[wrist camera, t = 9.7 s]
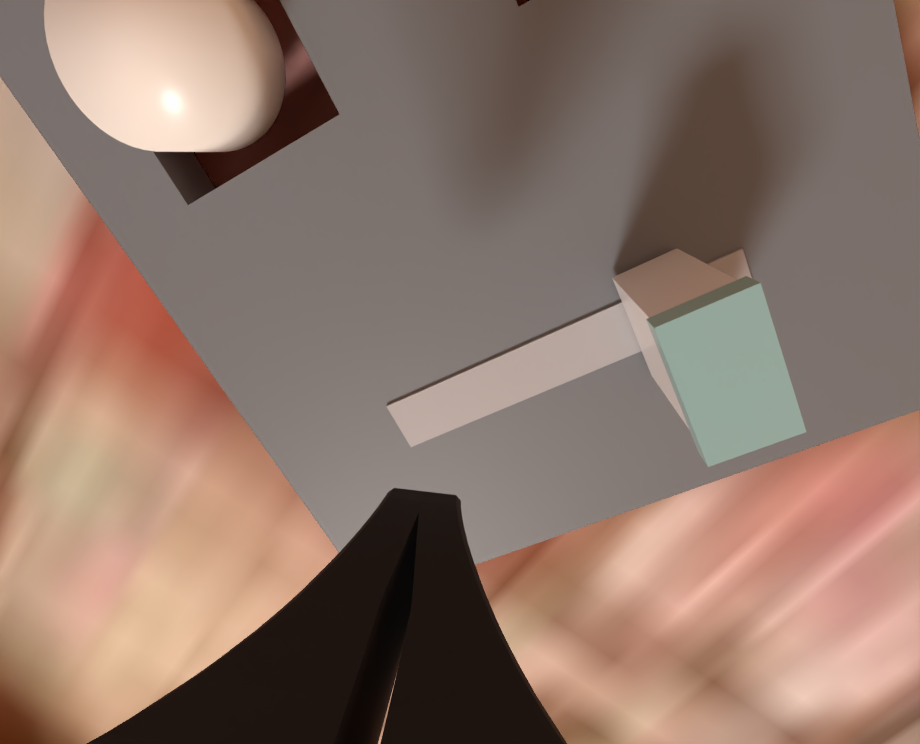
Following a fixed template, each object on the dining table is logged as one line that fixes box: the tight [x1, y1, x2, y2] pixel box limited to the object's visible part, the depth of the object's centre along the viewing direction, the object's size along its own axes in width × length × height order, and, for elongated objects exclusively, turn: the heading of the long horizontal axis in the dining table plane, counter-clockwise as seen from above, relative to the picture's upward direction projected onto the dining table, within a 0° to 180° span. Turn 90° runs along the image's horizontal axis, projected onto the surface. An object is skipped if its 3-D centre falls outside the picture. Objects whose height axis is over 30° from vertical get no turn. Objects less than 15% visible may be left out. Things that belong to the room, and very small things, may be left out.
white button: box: [44, 0, 286, 152], centre depth 12 cm, size 4×4×3 cm
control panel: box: [0, 0, 920, 565], centre depth 15 cm, size 22×20×2 cm
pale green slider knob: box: [612, 248, 806, 467], centre depth 13 cm, size 3×2×5 cm, turn 27°
